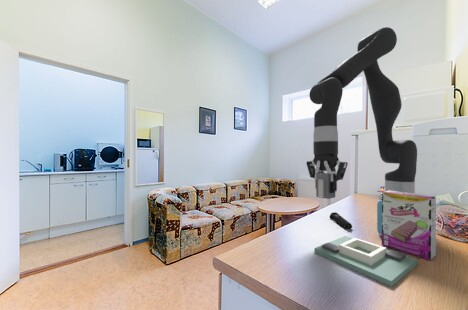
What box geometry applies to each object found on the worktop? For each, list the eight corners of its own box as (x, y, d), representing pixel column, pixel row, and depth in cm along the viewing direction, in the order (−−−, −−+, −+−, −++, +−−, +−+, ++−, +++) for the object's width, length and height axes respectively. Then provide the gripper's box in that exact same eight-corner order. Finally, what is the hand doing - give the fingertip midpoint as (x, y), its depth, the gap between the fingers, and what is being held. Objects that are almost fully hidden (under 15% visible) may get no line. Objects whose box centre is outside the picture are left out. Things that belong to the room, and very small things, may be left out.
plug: (323, 195, 71) (323, 172, 71) (335, 197, 68) (335, 173, 68) (314, 196, 68) (314, 173, 68) (326, 199, 65) (326, 173, 65)
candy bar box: (381, 246, 61) (380, 191, 61) (387, 242, 64) (387, 189, 64) (431, 262, 52) (431, 197, 52) (437, 256, 55) (436, 195, 55)
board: (344, 239, 66) (344, 229, 66) (417, 264, 51) (417, 251, 51) (314, 252, 57) (314, 241, 57) (391, 286, 42) (391, 271, 42)
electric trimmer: (344, 231, 74) (344, 222, 74) (328, 218, 90) (328, 210, 90) (354, 231, 74) (354, 223, 74) (337, 218, 90) (337, 211, 89)
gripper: (353, 139, 64) (353, 194, 64) (313, 142, 76) (314, 188, 76) (340, 138, 60) (340, 196, 60) (300, 141, 72) (300, 190, 72)
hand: (325, 191), depth 68 cm, fingers closed on plug, 4 cm apart
